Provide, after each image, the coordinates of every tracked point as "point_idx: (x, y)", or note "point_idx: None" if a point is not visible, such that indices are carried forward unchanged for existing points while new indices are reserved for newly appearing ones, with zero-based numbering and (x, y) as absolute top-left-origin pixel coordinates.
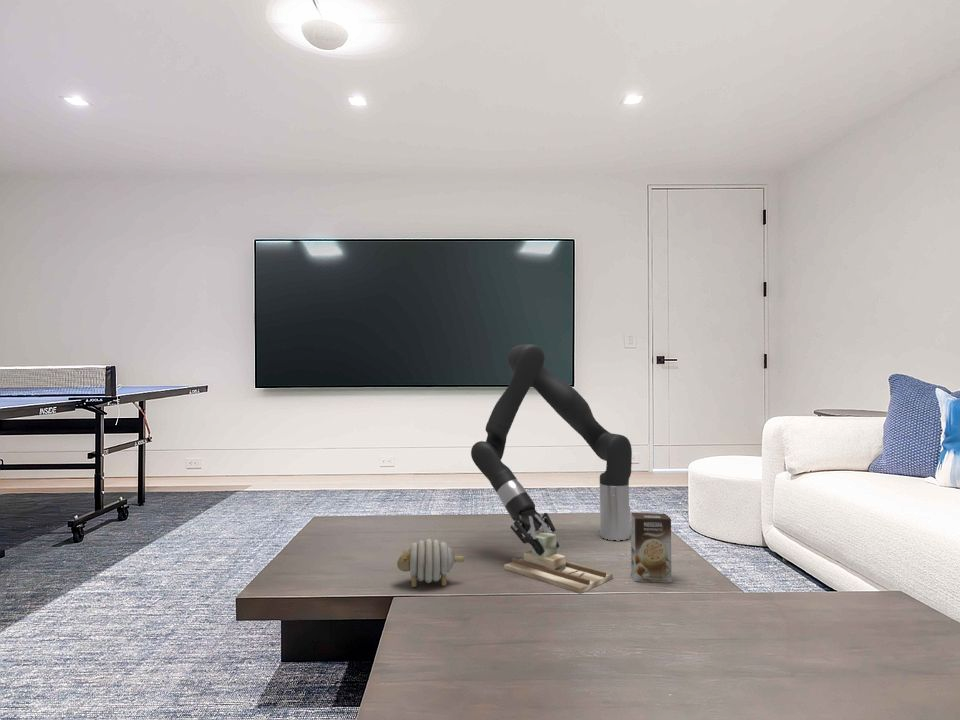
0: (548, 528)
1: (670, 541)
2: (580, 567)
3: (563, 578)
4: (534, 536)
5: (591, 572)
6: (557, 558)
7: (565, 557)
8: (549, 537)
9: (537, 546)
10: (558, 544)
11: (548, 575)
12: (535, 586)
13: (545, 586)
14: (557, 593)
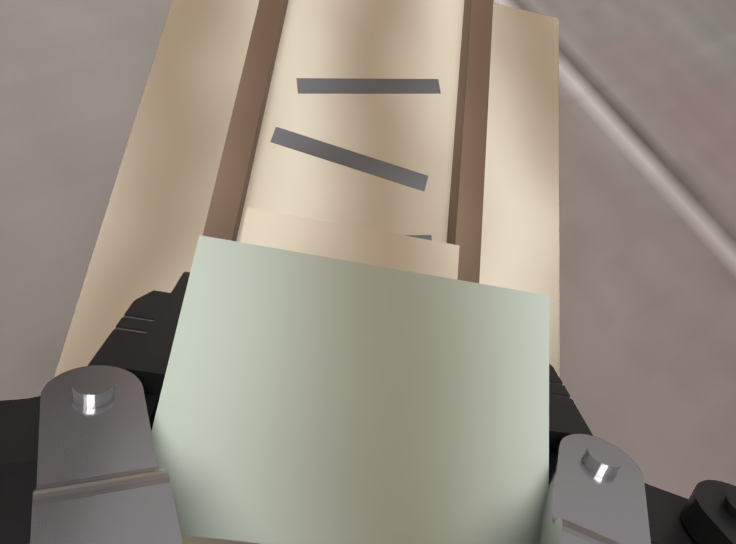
0: (54, 457)
1: None
2: (261, 107)
3: (488, 160)
4: (605, 463)
5: (281, 31)
6: (365, 241)
7: (247, 214)
8: (391, 271)
9: (560, 391)
10: (182, 275)
11: (509, 277)
12: (647, 306)
13: (600, 251)
14: (634, 142)
